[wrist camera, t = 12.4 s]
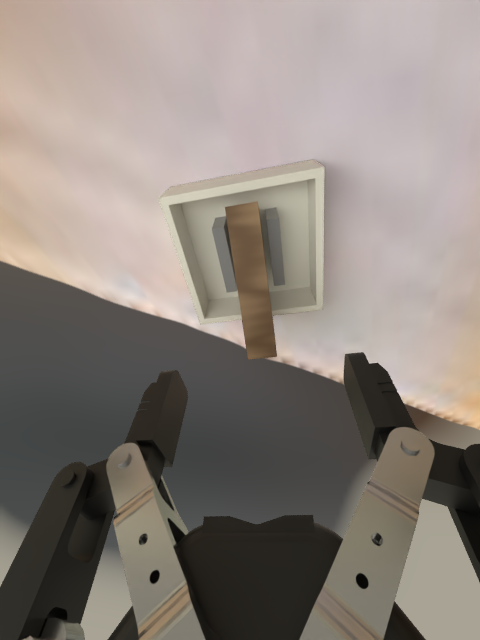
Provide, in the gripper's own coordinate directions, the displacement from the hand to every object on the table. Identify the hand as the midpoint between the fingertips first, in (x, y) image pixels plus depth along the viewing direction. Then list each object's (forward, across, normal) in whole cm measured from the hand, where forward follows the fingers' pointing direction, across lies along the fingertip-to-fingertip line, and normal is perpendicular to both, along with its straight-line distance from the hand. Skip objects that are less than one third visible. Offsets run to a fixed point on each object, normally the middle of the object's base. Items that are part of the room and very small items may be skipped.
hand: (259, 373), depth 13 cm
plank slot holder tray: (+16, +1, 0) cm, 16 cm away
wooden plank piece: (+9, +1, +7) cm, 12 cm away
